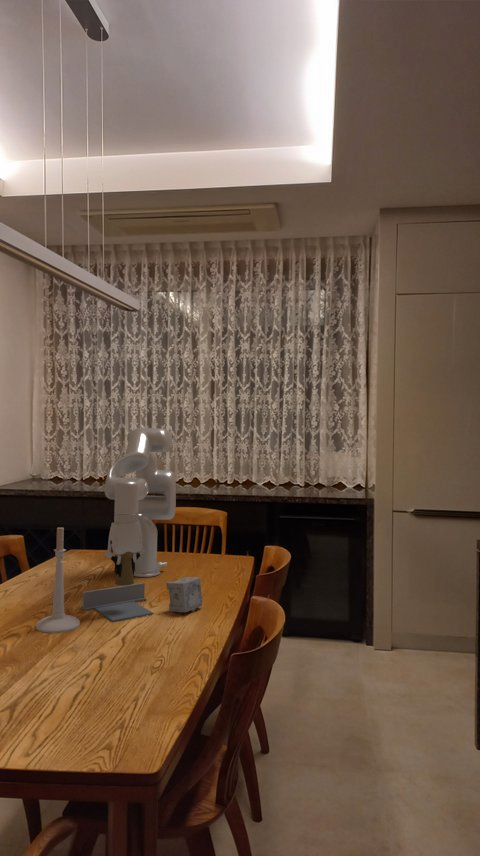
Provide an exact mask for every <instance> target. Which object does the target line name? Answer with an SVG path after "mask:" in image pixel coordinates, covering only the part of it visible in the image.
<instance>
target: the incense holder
mask: <svg viewBox="0 0 480 856" xmlns="http://www.w3.org/2000/svg"><path fill="white" fill-rule="evenodd" d="M201 582H202V581H201V578H200V577H199V576H189V577H188V576H186V577H184V576H183V577H181V578H180V579H177V580H174V581H167V582H166V590H168V593H169V601H170V602H169V604H168V605H169V606H168V610H169V612H171V613H172V612H173V613H187V612H192V613H194V612H195V610H197V608H199V607H202V606H203V596H202V595H203V594H202V593H203V592H202V586H201V585H202V584H201Z"/></svg>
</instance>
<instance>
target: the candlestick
mask: <svg viewBox="0 0 480 856" xmlns="http://www.w3.org/2000/svg"><path fill="white" fill-rule="evenodd" d="M64 531H65V528H64V527H61V526H59V527H57V528H56V549H53V551H54V552H55V555H54V556H55V558H56V562H55V574H54V576H55V577H54V586H53V588H54V589H53V600H52V612H51V615H49V616H45V617H43V618H41V619H40V620H39V621H37V622H36V623H35V629H36V631H39V632H41V633H46V634H60V633H62V634H63V633H67V632H71V631H74V630H76V629H77V628H80V626H81V620H79V619H78V618H77V617H76V616H73V615H70V614H66V613H65V590H64V589H65V588H64V587H65V586H64V585H65V584H64V561H63V557H65V552H66V551H67V549H65V548H64V541H65V540H64V535H65V533H64Z"/></svg>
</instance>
